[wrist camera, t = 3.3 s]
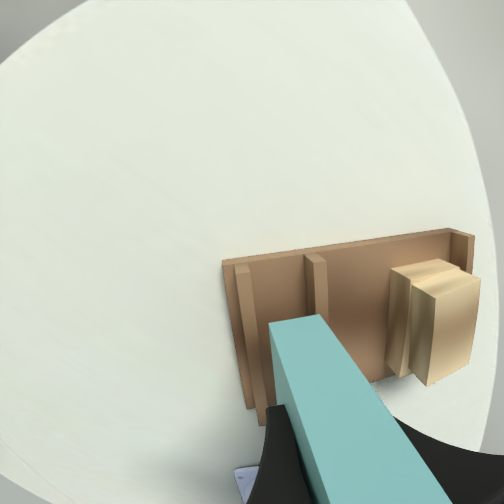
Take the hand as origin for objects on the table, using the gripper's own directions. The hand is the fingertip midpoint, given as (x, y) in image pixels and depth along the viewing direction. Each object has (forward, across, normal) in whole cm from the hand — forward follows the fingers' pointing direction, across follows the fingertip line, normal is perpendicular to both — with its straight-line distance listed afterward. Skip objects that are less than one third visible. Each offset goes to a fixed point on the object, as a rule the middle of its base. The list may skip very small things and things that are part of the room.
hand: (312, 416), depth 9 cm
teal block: (+2, 0, 0) cm, 2 cm away
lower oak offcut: (+6, -8, 0) cm, 10 cm away
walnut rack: (+7, -4, 0) cm, 8 cm away
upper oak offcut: (+4, -8, 0) cm, 9 cm away
